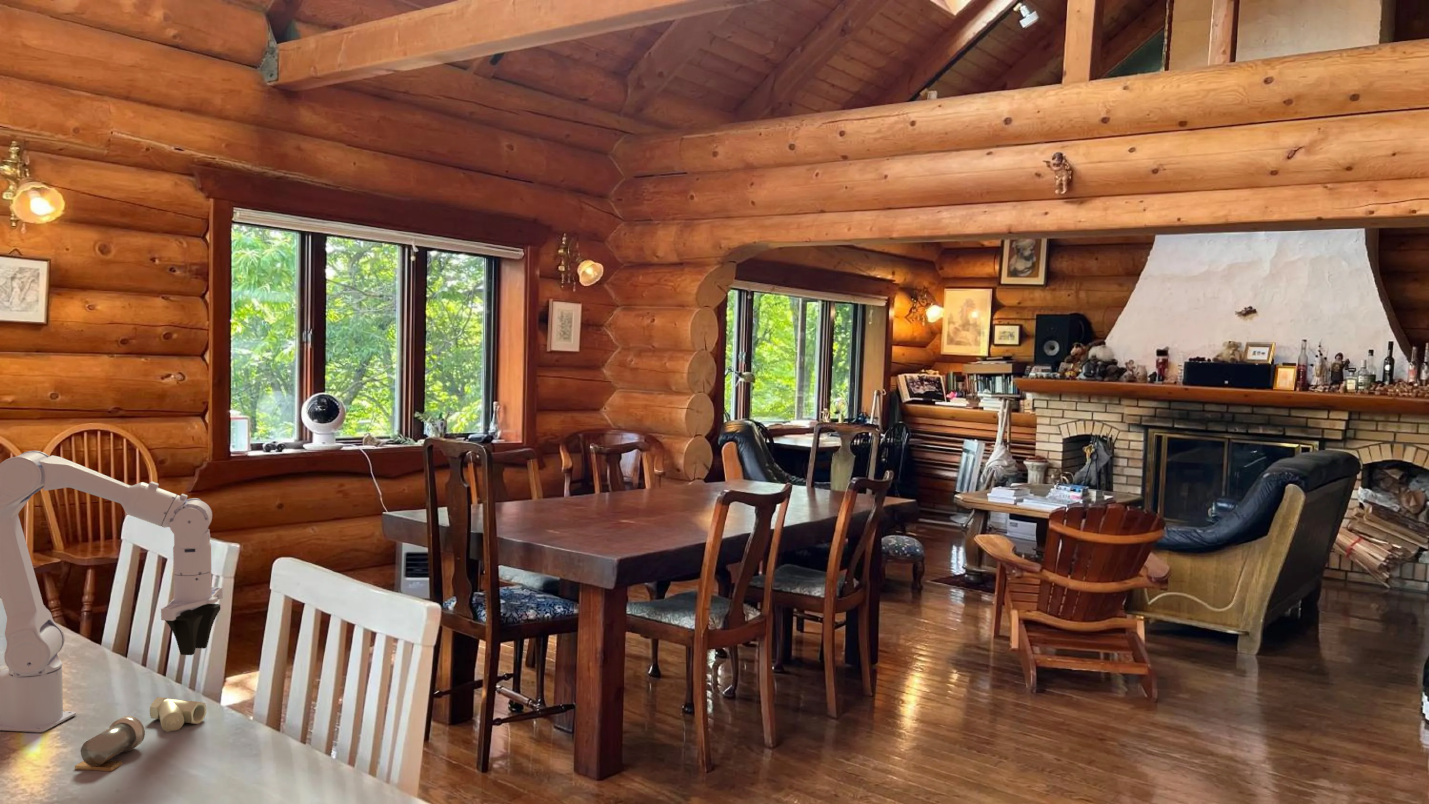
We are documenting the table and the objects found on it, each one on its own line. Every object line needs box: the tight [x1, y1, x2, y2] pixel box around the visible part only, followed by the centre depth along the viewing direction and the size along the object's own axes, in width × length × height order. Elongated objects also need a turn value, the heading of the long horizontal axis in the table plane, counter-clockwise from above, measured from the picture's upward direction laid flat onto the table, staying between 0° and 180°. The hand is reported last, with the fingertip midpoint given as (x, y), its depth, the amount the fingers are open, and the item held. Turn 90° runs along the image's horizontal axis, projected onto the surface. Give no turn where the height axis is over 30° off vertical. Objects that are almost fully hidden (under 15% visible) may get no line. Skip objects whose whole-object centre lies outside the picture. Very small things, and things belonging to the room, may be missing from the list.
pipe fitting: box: [149, 696, 207, 733], centre depth 167 cm, size 8×4×7 cm
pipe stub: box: [74, 715, 146, 772], centre depth 153 cm, size 8×6×5 cm
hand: (193, 651), depth 174 cm, fingers open, 3 cm apart
